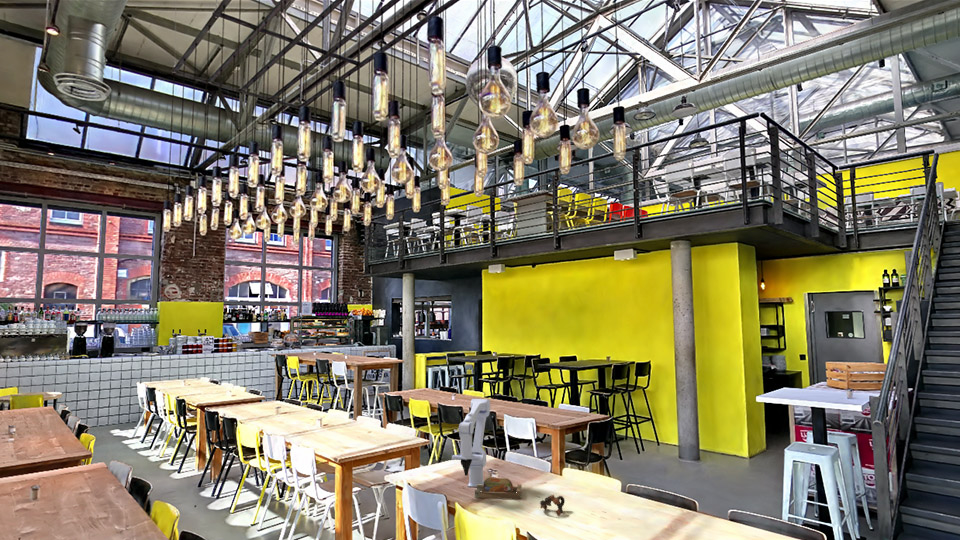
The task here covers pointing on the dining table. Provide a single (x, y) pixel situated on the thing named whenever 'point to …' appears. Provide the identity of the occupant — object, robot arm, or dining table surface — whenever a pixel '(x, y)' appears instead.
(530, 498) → the dining table surface
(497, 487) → the tin
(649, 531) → the dining table surface
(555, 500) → the brown figurine
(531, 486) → the dining table surface
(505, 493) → the walnut rails
